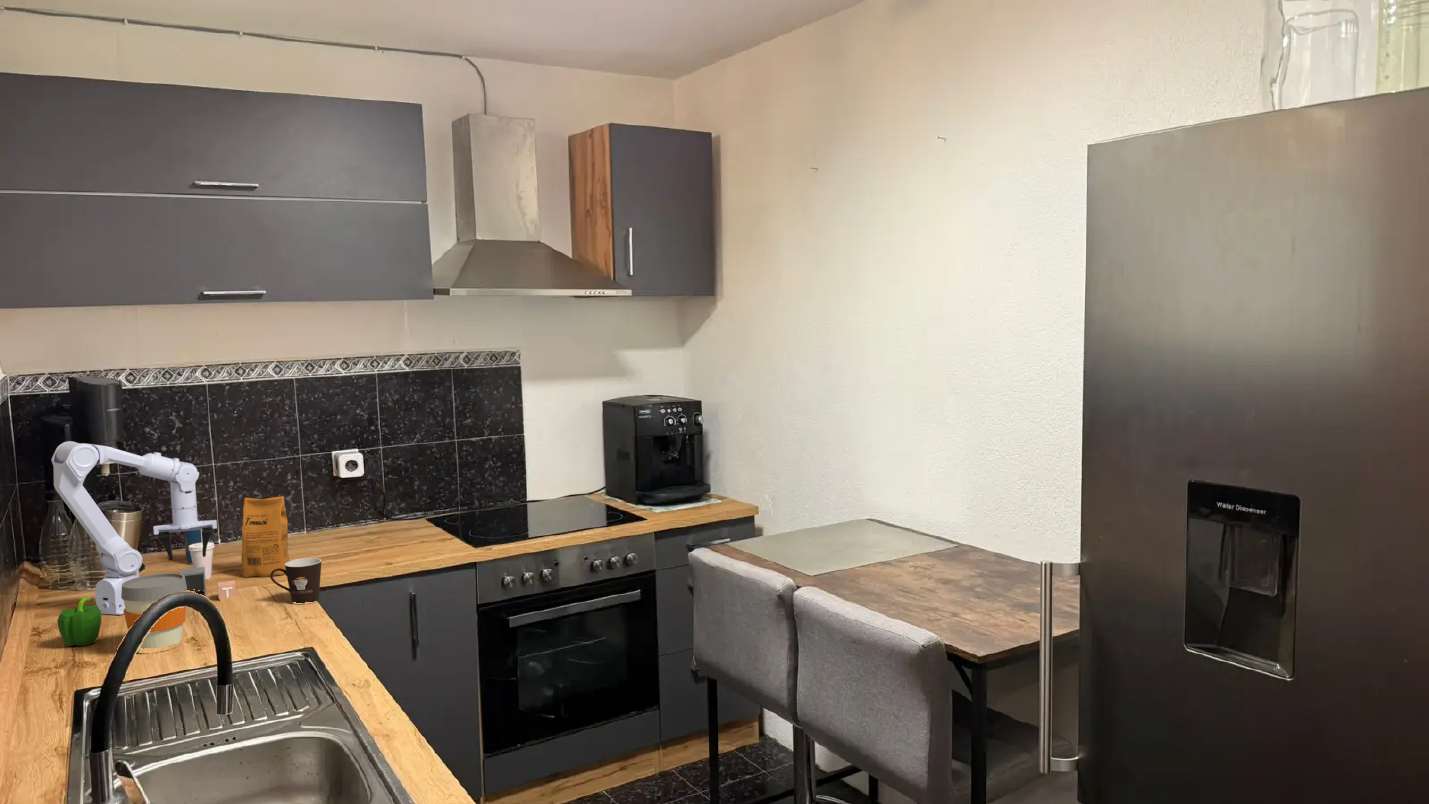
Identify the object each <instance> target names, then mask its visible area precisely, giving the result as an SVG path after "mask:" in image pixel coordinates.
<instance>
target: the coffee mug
mask: <svg viewBox="0 0 1429 804" xmlns="http://www.w3.org/2000/svg"><path fill="white" fill-rule="evenodd" d="M285 568H286V570H284V569H281V568H278V569H275V570H273V571H272V572H271V575H270V580H271V581H272V582H273V583H274V584H275V585H276V586H278V587H279V588H281V589H284V590H286V591H288V592H289V594H290V599H291V603H292V602H296V603H305V602H313V603H315V602H314V601H316V602H317V601H319V600H320V591H321V589H320V588H321V574H322V559H320V558H316V557H307V558H304V557H303V558H297V559H293V560H290V561H289V562H287V563H285ZM276 571H282V572H284V575H285V576H286V578H287V584H288V587H287V586H284V585H283V584H281V583H279V582H278V581H276V579H275V578H274V576H273V573H274V572H276Z"/></svg>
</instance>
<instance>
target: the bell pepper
mask: <svg viewBox="0 0 1429 804" xmlns="http://www.w3.org/2000/svg"><path fill="white" fill-rule="evenodd" d="M90 600H91V598H90V596H89V597H88V596H87V597H86V596H85V597H84V598H82V599H80V600H79V602H78V604H77V607H75V608H74V609H72V608H66V609H65V608H64V609H62V611H61V612H60V614H59V616H58V618H57V627H58V628H57V629H58V631H59V634H60V636H61V639H62V641H63V642H64V643H65V644H66V645H67V646H68V647H74V645H76V646H82V647H83V646H88V645H91V644H94V643H95V642H96V641H97V639H98V638H99V635H100V630H101V625H102V614H101V611H100V609H99V608H98V606H97V605H96V604H93V605H85V602H89V601H90Z"/></svg>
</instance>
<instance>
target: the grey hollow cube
mask: <svg viewBox="0 0 1429 804" xmlns="http://www.w3.org/2000/svg"><path fill="white" fill-rule="evenodd" d="M179 570H180V571H179V574H182V575H184V576H185V580H186V586H187V590H190V591H195V592H194V593H200V592H199V591H198V590H200V591H202V592H204V597H206V596H207V585H206V584H207V583H206V582H207V581H206V580H205V567H199V568H194V567H192V568H191V567H190V568H183V569H179ZM193 589H195V590H193ZM203 590H204V591H203Z"/></svg>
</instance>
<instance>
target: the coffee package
mask: <svg viewBox="0 0 1429 804" xmlns="http://www.w3.org/2000/svg"><path fill="white" fill-rule="evenodd" d="M243 500H244V501H243V507H242V508H243V509H242V511H243V513H242V514H243V515H242V525H241V566H242V576H243V578H244V579H247V578H251V577H252V578H253V577H260V578H268V577H270V575H271V572H272V571H273V570H275V569H278V568H281V569H284V570H286V568H285V563H287V562H289V561H291V560H290V556H289V554H290V553H289V550H288V547H289V531H288V523H289V522H288V517H287V510H286V505H285V504H286V503H285V496H284V495H282V496H276V497H268V498H252V497H245V498H244V499H243ZM281 575H282V576H283V575H285V573H284V572H282V571H276V572H274V573H273V577H275V576H276V577H277V576H281Z"/></svg>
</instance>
